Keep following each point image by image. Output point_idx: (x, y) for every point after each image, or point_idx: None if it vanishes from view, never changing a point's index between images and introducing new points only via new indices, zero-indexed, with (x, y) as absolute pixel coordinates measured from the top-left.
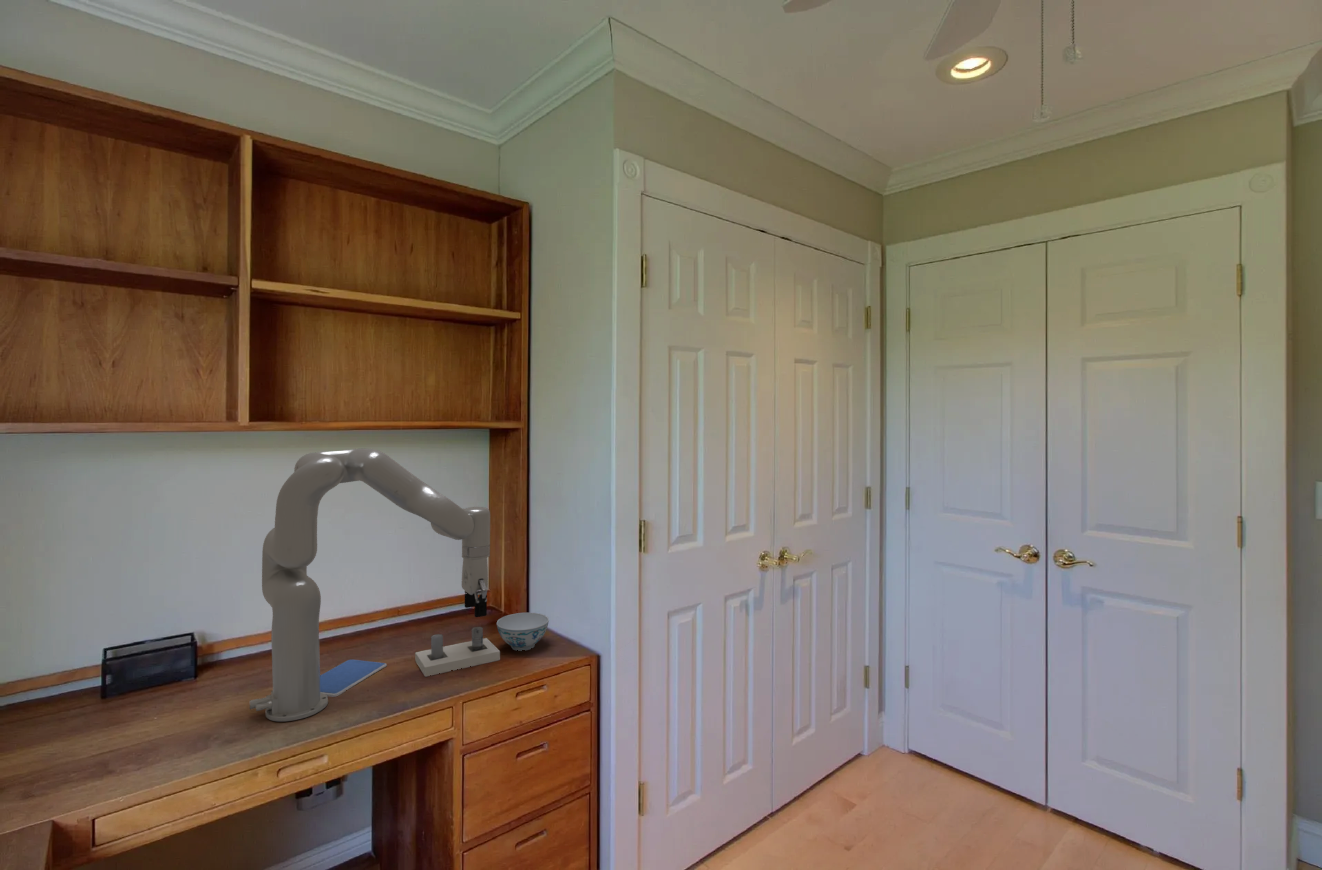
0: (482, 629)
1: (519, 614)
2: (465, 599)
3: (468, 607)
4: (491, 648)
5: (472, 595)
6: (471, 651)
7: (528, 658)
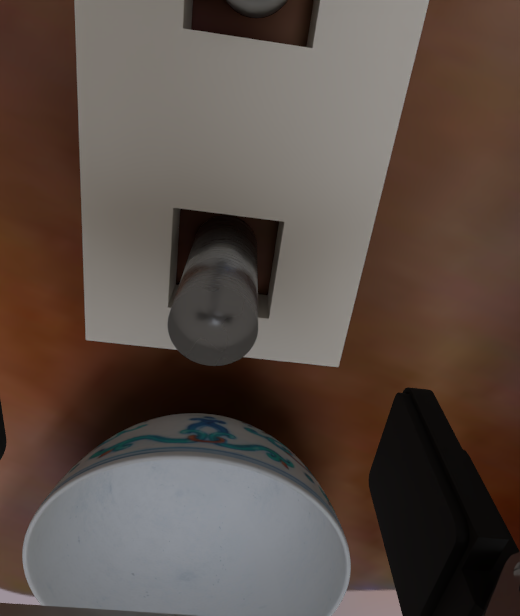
0: (185, 353)
1: (330, 601)
2: (445, 467)
3: (396, 415)
4: (156, 322)
5: (416, 580)
6: (277, 237)
7: (47, 417)
